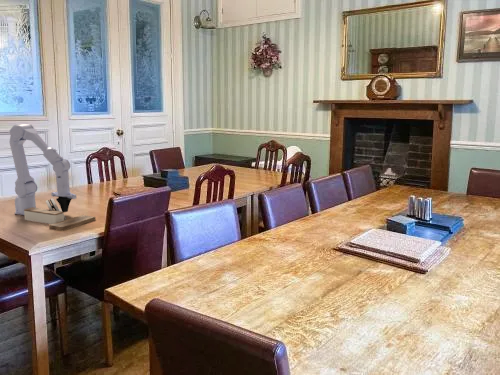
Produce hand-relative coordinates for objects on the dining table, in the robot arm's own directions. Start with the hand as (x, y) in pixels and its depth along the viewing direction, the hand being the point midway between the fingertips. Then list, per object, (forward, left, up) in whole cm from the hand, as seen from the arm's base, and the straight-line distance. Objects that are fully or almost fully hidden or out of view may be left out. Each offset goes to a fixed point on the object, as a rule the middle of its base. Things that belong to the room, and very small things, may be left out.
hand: (65, 211), depth 230 cm
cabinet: (0, -13, -2) cm, 13 cm away
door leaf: (+16, -11, -2) cm, 19 cm away
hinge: (-2, -4, -2) cm, 5 cm away
